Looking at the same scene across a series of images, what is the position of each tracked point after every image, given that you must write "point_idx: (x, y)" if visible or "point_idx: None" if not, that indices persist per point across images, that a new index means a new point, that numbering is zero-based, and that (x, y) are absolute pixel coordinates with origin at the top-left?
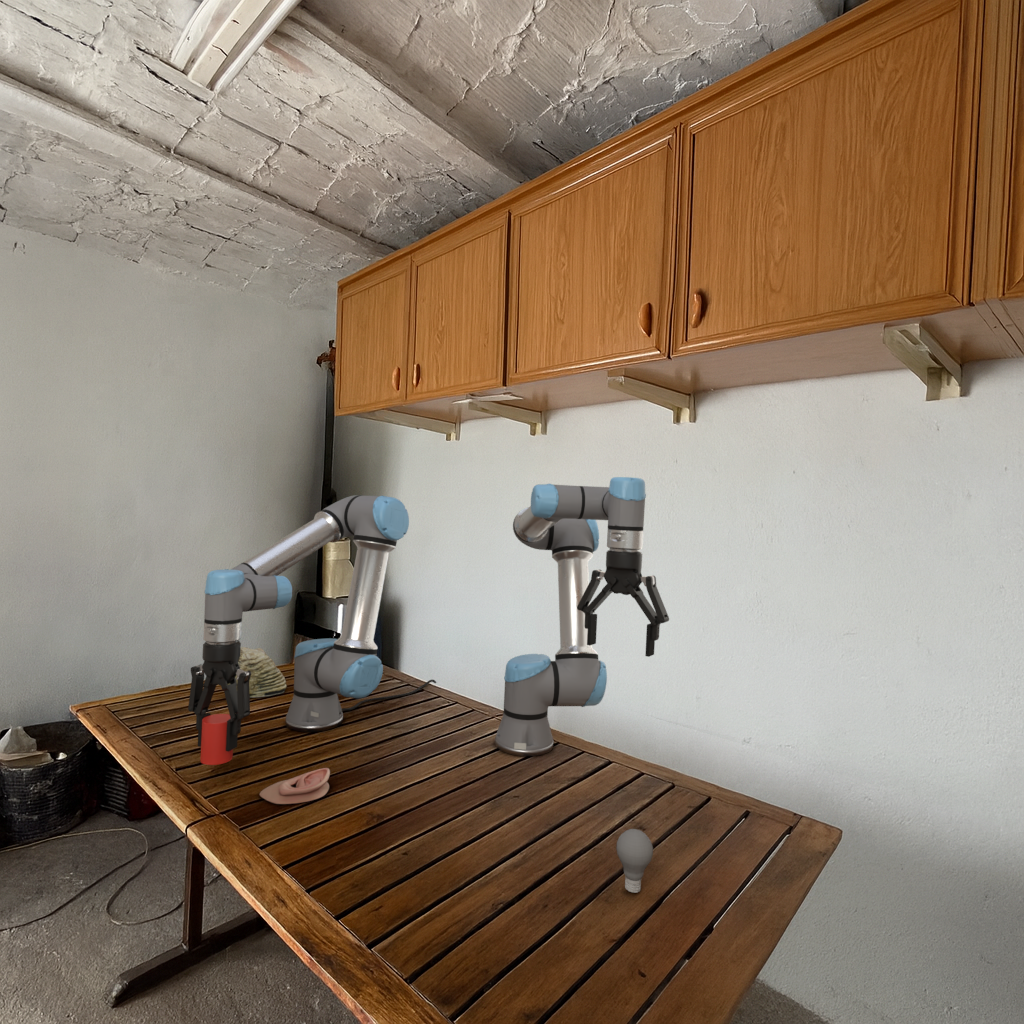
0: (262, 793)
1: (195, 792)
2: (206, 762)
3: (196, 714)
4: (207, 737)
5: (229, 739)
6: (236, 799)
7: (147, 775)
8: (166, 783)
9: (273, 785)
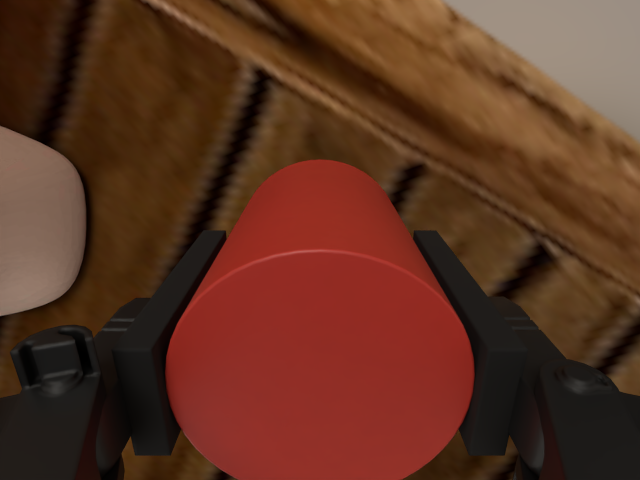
0: (44, 157)
1: (337, 102)
2: (319, 162)
3: (578, 367)
4: (319, 200)
5: (178, 263)
6: (135, 104)
7: (631, 169)
8: (508, 132)
9: (22, 206)
